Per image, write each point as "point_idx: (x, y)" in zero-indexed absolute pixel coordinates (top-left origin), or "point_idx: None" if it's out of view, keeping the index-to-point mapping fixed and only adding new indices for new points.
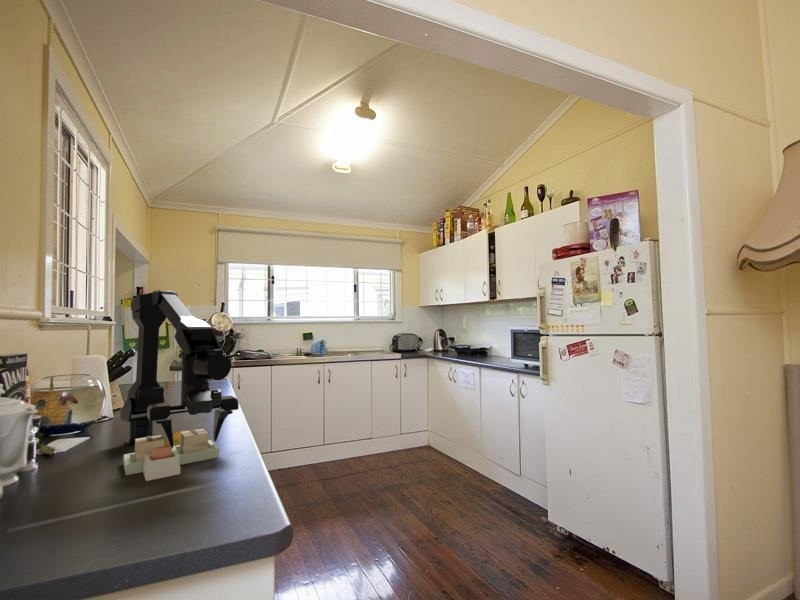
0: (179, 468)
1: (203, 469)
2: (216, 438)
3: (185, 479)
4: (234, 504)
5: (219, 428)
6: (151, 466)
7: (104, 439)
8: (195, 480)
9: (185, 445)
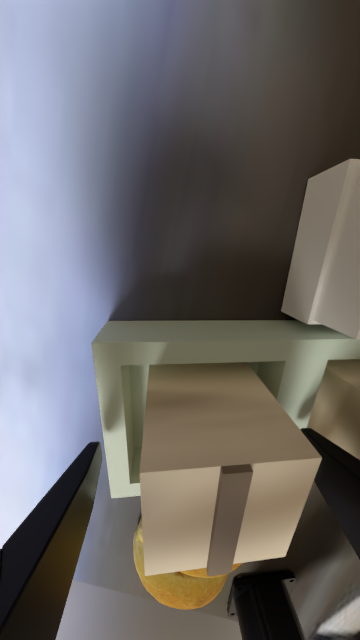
0: (343, 164)
1: (199, 210)
2: (84, 453)
3: (310, 100)
4: None
5: (25, 533)
6: None
7: (306, 614)
8: (284, 23)
9: (272, 403)
